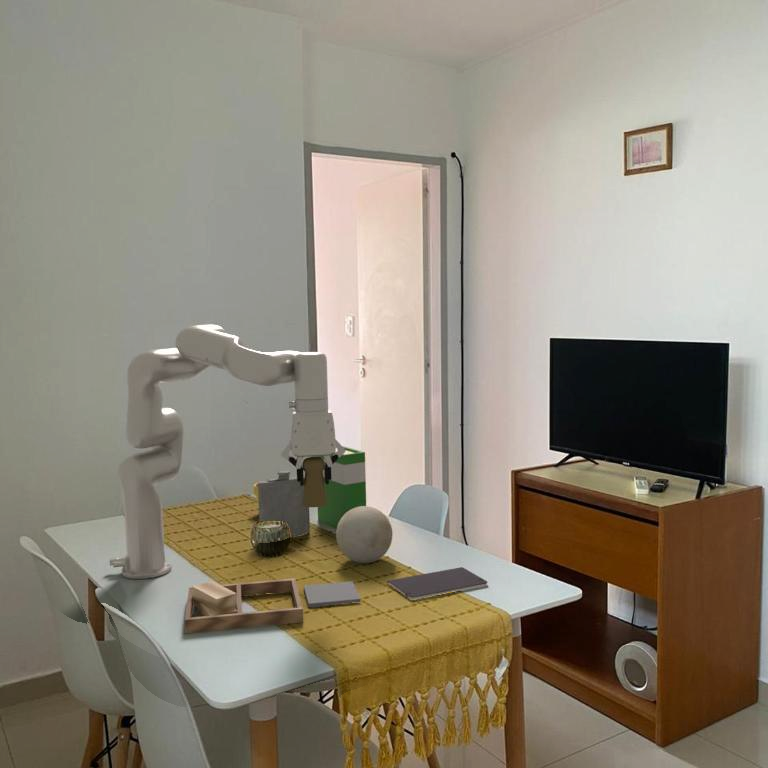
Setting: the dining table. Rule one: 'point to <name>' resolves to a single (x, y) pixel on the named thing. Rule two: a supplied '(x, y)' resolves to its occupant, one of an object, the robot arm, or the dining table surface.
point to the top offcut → (214, 596)
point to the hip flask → (284, 503)
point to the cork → (314, 483)
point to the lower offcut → (209, 612)
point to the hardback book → (344, 487)
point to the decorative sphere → (364, 534)
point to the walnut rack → (248, 617)
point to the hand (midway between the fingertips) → (314, 483)
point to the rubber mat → (331, 594)
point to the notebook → (437, 583)
